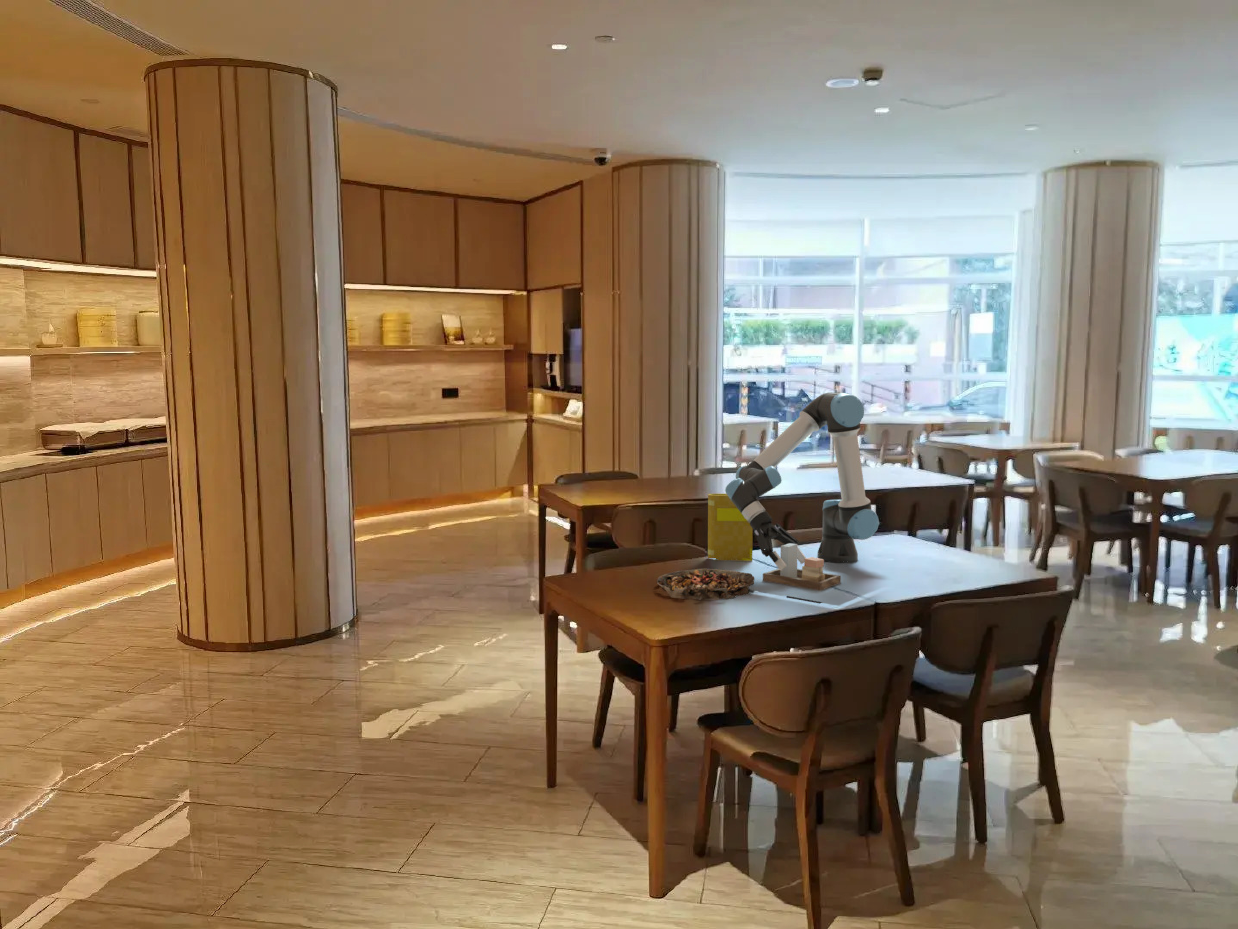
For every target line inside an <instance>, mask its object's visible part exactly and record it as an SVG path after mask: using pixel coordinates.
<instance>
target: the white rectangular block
mask: <svg viewBox="0 0 1238 929" xmlns="http://www.w3.org/2000/svg"><path fill="white" fill-rule="evenodd" d="M797 546H798V543H797V544H792V543H789V544H786V545H785V544H782V545H780V558H781V559H782V560H783V561H784V563H785V564H786V565H787V566H786V567H785V568H784V569H783V570H782V571H780V576H786V577H792V578H797V569H798V559H797Z"/></svg>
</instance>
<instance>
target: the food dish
mask: <svg viewBox="0 0 1238 929" xmlns="http://www.w3.org/2000/svg"><path fill="white" fill-rule="evenodd" d="M755 580H756V579H755V576H753V574H752V573H749V572H741V571H736V570H729V569H723V570H722V569H721V568H720V569H719V568H705V567H704V568H696V569H687V570H678V571H672V572H668V573H665V574H662V575H660V576H658V577H657V580H656V583H657V585H658V586H660V587H661V588H662V590H665V592H667V595H668V596H669V597H670V598H674V599H684V600H685V599H688V600H689V599H691V600H698V601H707V600H708V601H716V600H717V601H719V600H729V599H734V598H737V596H741V597H742V596H747V595H749V594H750V592H751V588H750V587H751V586H753V585H754V584H755V583H754V582H755ZM661 583H662V584H661Z"/></svg>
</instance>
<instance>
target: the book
mask: <svg viewBox="0 0 1238 929" xmlns="http://www.w3.org/2000/svg"><path fill="white" fill-rule="evenodd" d="M753 531H754V530H753V528H752V527H751V526H750V522H748V521H747V520H746V519H745V518H744V516H743V515H742V514H741V512H740V511H739V510H738V508H737V507H736V506H735V505H734V503H733V502H732V501H731V500H730V498H729V497H728V495H727V493H708V494H707V559H708V558H716V559H718V560H717V561H742V562H753V538H754V537H753V535H754V532H753Z"/></svg>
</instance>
